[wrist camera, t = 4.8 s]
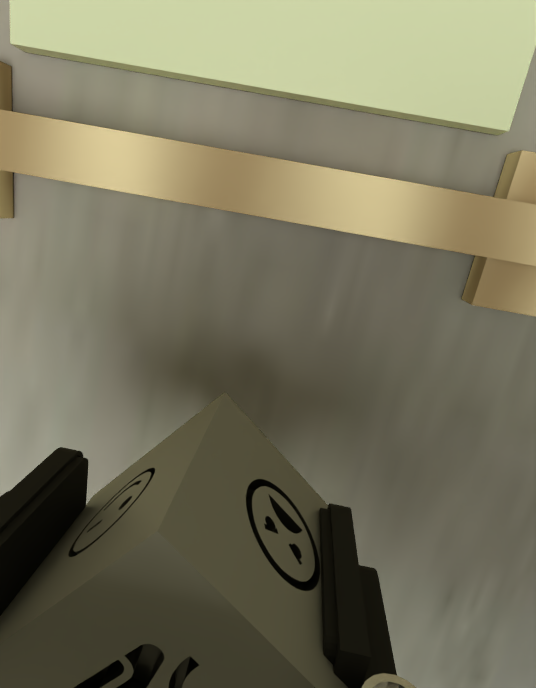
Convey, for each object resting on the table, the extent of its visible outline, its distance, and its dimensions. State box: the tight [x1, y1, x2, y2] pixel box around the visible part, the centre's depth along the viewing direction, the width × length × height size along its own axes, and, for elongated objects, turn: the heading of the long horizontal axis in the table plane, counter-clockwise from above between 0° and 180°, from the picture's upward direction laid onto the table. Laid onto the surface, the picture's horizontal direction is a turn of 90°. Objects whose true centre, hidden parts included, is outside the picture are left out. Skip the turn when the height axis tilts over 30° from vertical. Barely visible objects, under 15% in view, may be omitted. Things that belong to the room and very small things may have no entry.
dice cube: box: [0, 392, 348, 688], centre depth 9 cm, size 5×5×5 cm
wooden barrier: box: [0, 61, 536, 316], centre depth 13 cm, size 24×5×4 cm, turn 80°
